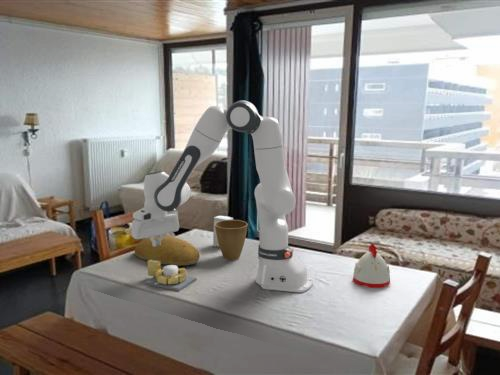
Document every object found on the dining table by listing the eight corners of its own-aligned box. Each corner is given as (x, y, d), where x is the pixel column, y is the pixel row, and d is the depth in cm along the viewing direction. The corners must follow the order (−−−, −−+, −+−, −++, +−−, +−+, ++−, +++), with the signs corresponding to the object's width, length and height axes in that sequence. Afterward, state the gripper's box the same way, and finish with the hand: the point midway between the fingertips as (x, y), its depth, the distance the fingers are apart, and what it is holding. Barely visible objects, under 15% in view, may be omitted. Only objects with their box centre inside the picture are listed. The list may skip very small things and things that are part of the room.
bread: (184, 272, 177) (183, 249, 176) (126, 257, 196) (125, 236, 194) (211, 259, 193) (210, 238, 191) (154, 247, 211) (153, 227, 209)
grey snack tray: (196, 280, 168) (196, 265, 167) (178, 291, 157) (178, 276, 156) (163, 273, 175) (163, 259, 174) (144, 284, 164) (143, 269, 163)
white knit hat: (357, 288, 160) (359, 249, 157) (349, 274, 173) (350, 239, 171) (394, 287, 160) (396, 249, 157) (383, 274, 173) (385, 239, 171)
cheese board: (190, 276, 168) (190, 261, 167) (174, 286, 158) (173, 270, 157) (158, 270, 175) (157, 256, 174) (140, 279, 165) (139, 264, 164)
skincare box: (213, 246, 212) (212, 217, 209) (219, 243, 217) (218, 214, 214) (227, 248, 208) (227, 219, 205) (233, 245, 213) (233, 216, 211)
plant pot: (208, 257, 195) (208, 223, 193) (233, 250, 205) (233, 218, 202) (229, 265, 184) (229, 229, 182) (254, 257, 194) (254, 223, 192)
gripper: (173, 207, 177) (173, 239, 179) (128, 214, 163) (129, 249, 165) (182, 209, 173) (182, 242, 175) (137, 217, 158) (138, 252, 160)
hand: (156, 245), depth 170 cm, fingers closed
